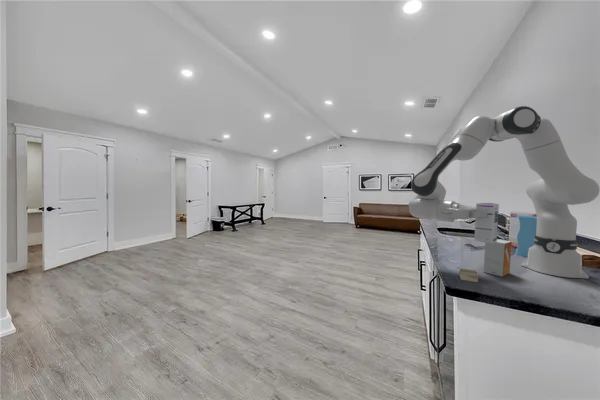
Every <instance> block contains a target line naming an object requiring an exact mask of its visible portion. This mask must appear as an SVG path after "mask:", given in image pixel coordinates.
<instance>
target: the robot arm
mask: <svg viewBox="0 0 600 400" xmlns="http://www.w3.org/2000/svg"><path fill="white" fill-rule="evenodd" d="M513 138H515V139H516V140H517V141H519V143H520V144H521V148H522V151H523V153H524V156H525V159H526V162H527V165H528V166H529V168H530V169H531V170H532V171H534V172H535V173H536V174H538V175H539V177H540V178H539V179H536V180H533V181H531V182H529V183H528V185H527V186H526V190H525V191H526V194H527V196H528V198H529V199H530V200H531V202H532V204H533V207H534V209H535V214H536V215H537V228H536V235H535V238H534V244H535V245H534V246H532V247H530V248H529V251H528V257H527V261H525V262H522V263H521V266H522V267H525V268H528V269H529V270H532V271H535V272H537V273H541V274H545V275H551V276H555V277H561V278H572V279H573V278H575V279H576V278H577V279H589V277H590V276H589V275H588V274H587V273H586V272H585V271H584V270H582V268H583V265H582V263H583V262H582V261H583V260H582V259H583V255H581V254H580V253H579V252H578V251H577V249H578V245H579V244H578V240H577V228H578V221H577V218H576V217H575V216H574V215H573V214H572V213H571V210H570V209H569V206H570V205H571V206H575V205H583V204H587V203H591V202H592V201H594V200H595V199H597V198H598V196H599V194H600V186H599V183H597V181H595V180H594V179H593V178H590V177H588V176H586V175H585V174H584V173H583V172H582V171H581V170H579V169H578V168H577V167H576V165H574V163H573V162H572V160H571V159H570V157H569V156H568V154H567V151H566V149H565V147H564V144H563V142H562V140H561V137H560V135H559V133H558V131H557V129H556V127H555V126H554V124H553V123H552V122H551V120H549V119H547V118H542V117H541V116H540V115H539V114H538V112H537V111H536V110H535V109H534V108H532V107H530V106H525V105H522V106H517V107H514V108H511V109H508V110H507V111H504V112H502V113H500V114H498V115H497V116H495V117H493V118H491V117H489V116H486V115H478V116H475V117H473V118H472V119H471V120H470V121H469V122H468V123H466V124H465V126H464V127H463V128H462V129H461V130H460V131H459V133H458V134H457V136H455V138H454V139H453V140H452V141H451V142H450V143H448V144H446V145H445V146H444V147H443V148H442V149H441V150H440V151H439V152H438V153H437V154H436V155H435V156H434V158H433V159H432V160H431V161H430V162H429V163H428V165H426V167H424V168H423V169H422V170H421V171H419V172H418V173H417V174H416V175H414V176H413V177H412V179H411V182H410V188H411V190H412V192H413V193H415V194H416V195H415V197H414V198H413V199H411V200H409V202H408V211H409V213H410V215H411V216H412V217H414V218H418V219H421V220H422V219H423V220H428V221H429V220H436V221H438V222H439V221H440V222H445V223H446V222H448V223H453V222H455V221H457V220H469V219H470V220H471V219H475V218H476V217H483V218H486V217H488V213H485V212H476V206H473V205H466V204H461V203H460V202H459V203H458V202H456V201H454V200H445V198H446V193H447V190H446V188H445V186H444V185H443V184H442V182H441V181H439V177H440V175H441V174H442V173H443V172H444V171H445V170H446V169H447V167H448V166H450V164H451V163H452V162H454V161H463V162H464V161H469V160H473V159H474V158H475V157H476V156H477V155H478V154H479V153H480V152H481V151H482V150H483V148H484V147H485V145H486V144H487V143H488V141H490V142H503V141H506V140H511V139H513ZM568 205H569V206H568Z"/></svg>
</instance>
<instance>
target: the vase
mask: <svg viewBox="0 0 600 400" xmlns="http://www.w3.org/2000/svg"><path fill="white" fill-rule="evenodd" d="M519 221H520V230H519V232H518V234H517V242H518V248H517V247H516V252H515V255H516V256H519V257H524V258H528V251H529V248H530V247H532V246H534V245H535V244H534V238H535V235H536V228H537V217H531V216H519Z"/></svg>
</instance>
